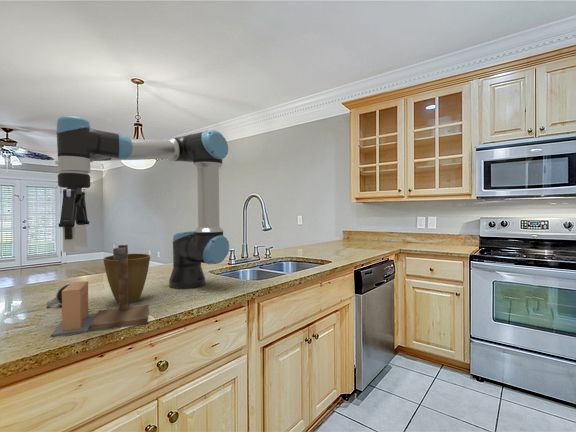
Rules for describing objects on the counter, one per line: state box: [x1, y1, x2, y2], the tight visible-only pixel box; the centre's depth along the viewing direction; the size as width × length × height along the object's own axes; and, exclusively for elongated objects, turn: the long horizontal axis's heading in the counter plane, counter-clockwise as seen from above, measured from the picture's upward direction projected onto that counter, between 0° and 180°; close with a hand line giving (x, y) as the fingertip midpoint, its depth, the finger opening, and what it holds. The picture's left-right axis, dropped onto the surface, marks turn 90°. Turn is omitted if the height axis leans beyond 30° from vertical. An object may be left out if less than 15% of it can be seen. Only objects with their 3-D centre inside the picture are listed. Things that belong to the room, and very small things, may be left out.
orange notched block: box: [61, 280, 89, 331], centre depth 87 cm, size 11×4×10 cm, turn 23°
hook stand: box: [89, 244, 149, 332], centre depth 91 cm, size 14×15×22 cm
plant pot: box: [102, 253, 151, 304], centre depth 111 cm, size 15×15×16 cm
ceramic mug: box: [46, 281, 73, 308], centre depth 107 cm, size 11×8×8 cm
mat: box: [50, 312, 98, 338], centre depth 87 cm, size 8×15×1 cm, turn 23°
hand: (75, 249), depth 87 cm, fingers open, 13 cm apart
